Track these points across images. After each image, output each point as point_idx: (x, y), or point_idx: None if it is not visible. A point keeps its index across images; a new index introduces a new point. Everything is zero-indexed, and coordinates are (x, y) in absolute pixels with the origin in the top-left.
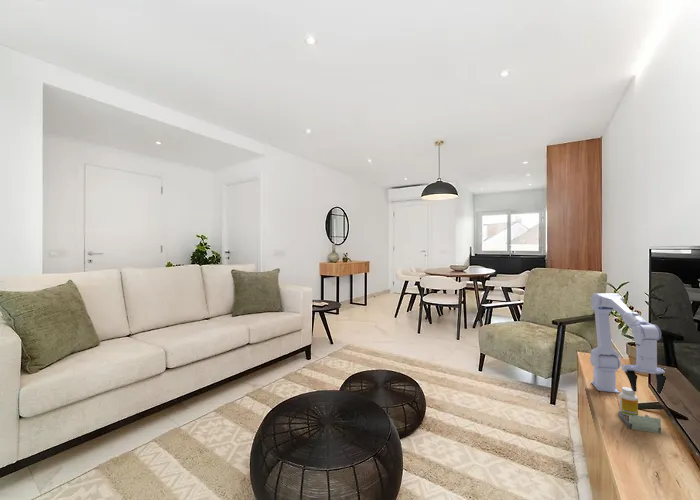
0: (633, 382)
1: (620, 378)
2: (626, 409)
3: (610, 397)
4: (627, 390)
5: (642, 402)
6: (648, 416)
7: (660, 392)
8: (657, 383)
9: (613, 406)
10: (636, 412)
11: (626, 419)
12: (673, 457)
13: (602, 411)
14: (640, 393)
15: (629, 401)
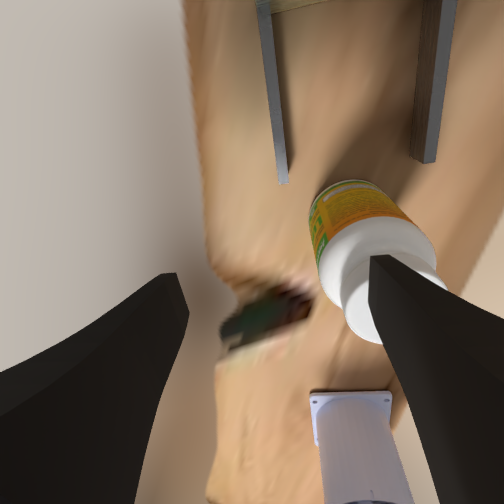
0: (468, 310)
1: (268, 477)
2: (383, 194)
3: (363, 350)
4: (425, 276)
5: (248, 348)
6: (279, 164)
7: (165, 279)
8: (157, 386)
9: None
10: (327, 197)
11: (452, 24)
12: None
13: (493, 180)
14: (236, 408)
15: (388, 212)
